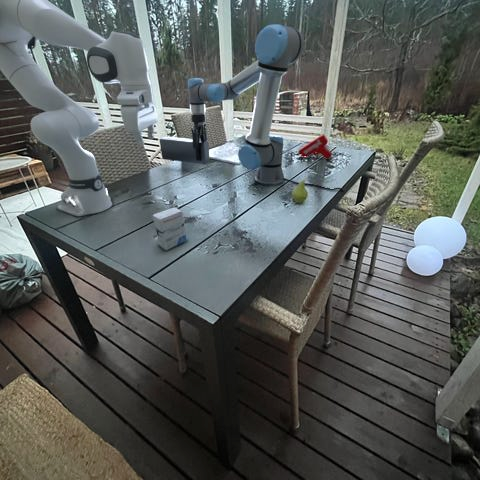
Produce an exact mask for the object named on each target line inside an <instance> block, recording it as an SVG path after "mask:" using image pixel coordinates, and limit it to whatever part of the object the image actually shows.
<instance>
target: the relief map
mask: <svg viewBox="0 0 480 480" xmlns="http://www.w3.org/2000/svg"><path fill="white" fill-rule="evenodd" d="M239 149H240V147H239V146H237V145H236V144H235V143H234V142H229V141H227V142H226V143H224V144H222V145H220V146H216V147H214V148H209V159H211V160H214V161H220V162H225V163H230V164H234V165H237V166H238V165H240V164H241V162H240V160H239V157H238V151H239ZM241 165H242V164H241Z"/></svg>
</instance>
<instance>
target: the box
mask: <svg viewBox="0 0 480 480" xmlns="http://www.w3.org/2000/svg"><path fill="white" fill-rule="evenodd" d="M209 144H210V142H209V140H208V139H207V140H200V148H201V161H197V160H196V150H195V148H193V141H192V138H184V137H174V136H163V137H161V138H159V147H160V152H161V153H160V154H161V160H167V161H176V162H183V163H191V164H201V165H206V164H208V163H209V162H210V161H211V160H210V159H211V158H209V149H210V145H209Z"/></svg>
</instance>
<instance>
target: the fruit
mask: <svg viewBox="0 0 480 480" xmlns="http://www.w3.org/2000/svg"><path fill="white" fill-rule="evenodd" d="M310 177H311V175H310V174H309V175H308V176H307V177H305V179H302V180H301V181H300V182H298V183H299V184H297V185H296V186H295V187H294V188H293V190H292V191H291V198H292V200H293V201H294V202H295V203H297V204H301V203H304V202H305V201H306V200H307V198H308V196H309V195H308V190H307V189H306V185H305V183H306V180H308V179H309V178H310Z"/></svg>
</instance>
